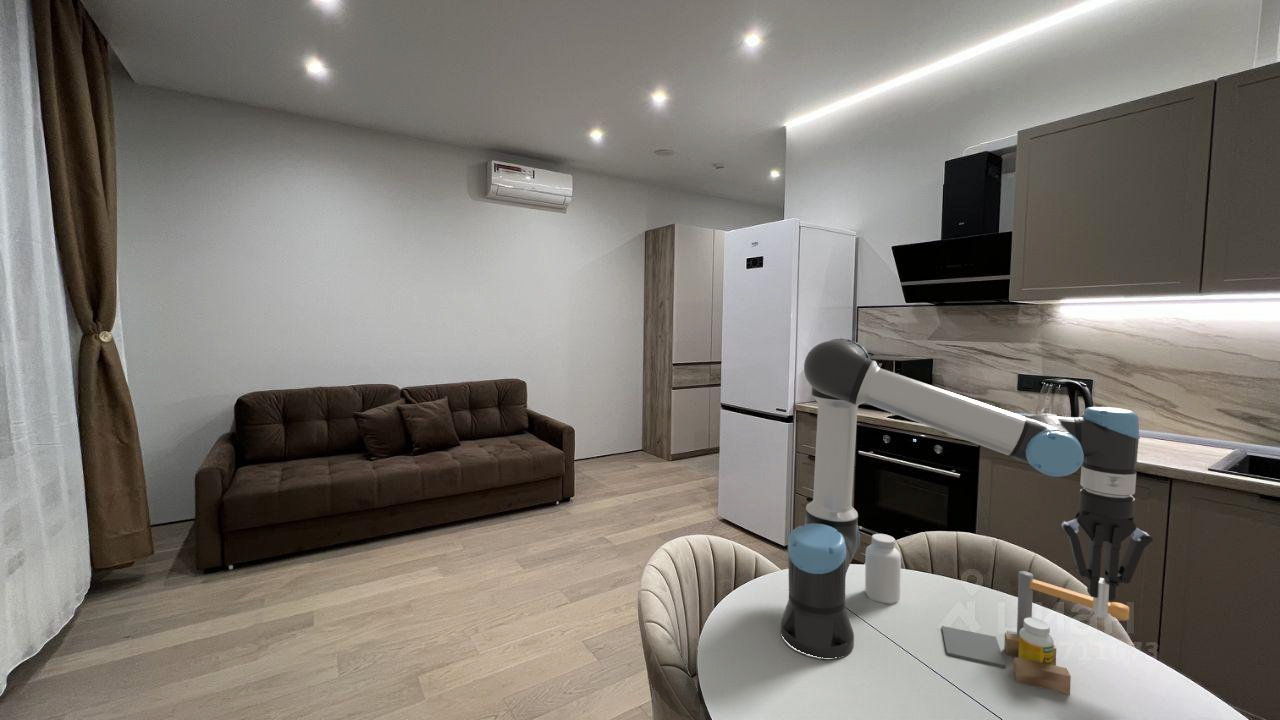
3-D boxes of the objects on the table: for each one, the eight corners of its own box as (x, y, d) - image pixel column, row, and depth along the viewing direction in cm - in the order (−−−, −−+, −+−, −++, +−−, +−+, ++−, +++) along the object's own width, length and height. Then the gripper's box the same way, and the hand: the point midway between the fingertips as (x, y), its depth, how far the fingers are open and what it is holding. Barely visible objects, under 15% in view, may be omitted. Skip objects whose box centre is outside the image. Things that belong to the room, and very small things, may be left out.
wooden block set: (1016, 682, 97) (1017, 664, 97) (998, 632, 112) (998, 616, 112) (1070, 694, 93) (1070, 676, 93) (1043, 641, 109) (1044, 625, 108)
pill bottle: (901, 592, 129) (902, 535, 128) (898, 608, 122) (899, 547, 121) (867, 584, 133) (868, 528, 132) (862, 599, 127) (863, 540, 125)
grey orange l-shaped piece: (1124, 681, 95) (1128, 607, 94) (1015, 638, 108) (1017, 573, 107) (1127, 674, 97) (1130, 602, 96) (1018, 633, 110) (1020, 569, 109)
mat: (946, 654, 105) (946, 652, 105) (941, 627, 114) (941, 625, 114) (1005, 667, 101) (1005, 665, 101) (995, 638, 110) (995, 636, 110)
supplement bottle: (1024, 657, 104) (1026, 612, 103) (1057, 672, 99) (1058, 624, 99) (1013, 667, 101) (1014, 621, 100) (1046, 683, 96) (1047, 634, 96)
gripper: (1069, 492, 94) (1062, 616, 96) (1163, 503, 88) (1154, 633, 90) (1057, 481, 101) (1051, 596, 102) (1144, 490, 95) (1136, 612, 97)
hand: (1099, 613), depth 96 cm, fingers closed
